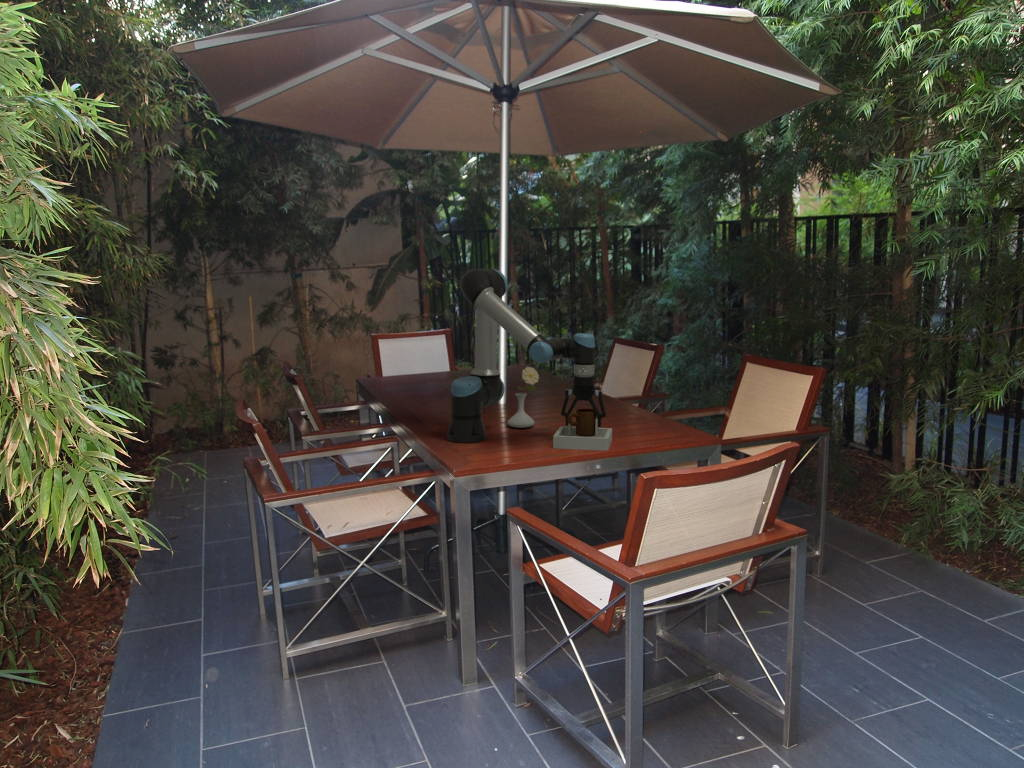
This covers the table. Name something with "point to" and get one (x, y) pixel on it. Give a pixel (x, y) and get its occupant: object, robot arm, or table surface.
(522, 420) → the flower in vase
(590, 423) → the mug
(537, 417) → the table surface
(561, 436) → the tray
